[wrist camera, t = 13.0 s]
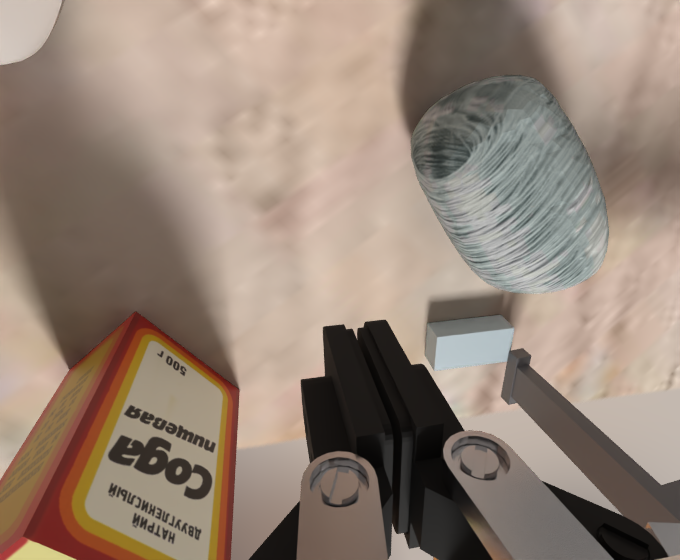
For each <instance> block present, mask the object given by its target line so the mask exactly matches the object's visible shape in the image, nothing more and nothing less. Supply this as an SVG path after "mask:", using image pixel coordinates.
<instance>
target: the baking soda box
mask: <svg viewBox="0 0 680 560" xmlns="http://www.w3.org/2000/svg"><path fill="white" fill-rule="evenodd" d="M238 408H239V389H238V388H236V387H235V386H234V385H232V384H231V383H230V382H228V381H227V380H226V379H224V378H223V377H222V376H221V375H219V374H218V373H217V372H215V371H214V370H213V369H211V368H210V367H209V366H207V365H206V364H205V363H203V362H202V361H201V360H199V359H198V358H197V357H195V356H194V355H193V354H192V353H190V352H189V351H188V350H186V349H185V348H184V347H182V346H181V345H180V344H178V343H177V342H176V341H174V340H173V339H172V338H170V337H169V336H168V335H166V334H165V333H164V332H163V331H161V330H160V329H159V328H157V327H156V326H155V325H153V324H152V323H151V322H149V321H148V320H147V319H145V318H144V317H143V316H141V315H140V314H139V313H137V312H135V313H134V314H132V315H131V316H130V317H129V318H128V319H127V320H126V321H124V322H123V323H122V324H121V325H120V326H119V327H118V328H117V329H115V330H114V331H113V332H112V333H111V334H110V335H109V336H107V337H106V338H105V339H104V340H103V341H102V342H101V343H100V344H98V345H97V346H96V347H95V348H94V349H93V350H92V351H90V352H89V353H88V354H87V355H86V356H85V357H84V358H83V359H81V360H80V361H79V362H78V363H77V364H76V365H75V366H73V367H72V368H71V369H70V370H69V372H68V373H67V375H66V376H65V378H64V379H63V381H62V383H61V384H60V386H59V387H58V389H57V391H56V392H55V394H54V395H53V397H52V399H51V400H50V402H49V403H48V405H47V407H46V408H45V410H44V411H43V413H42V415H41V416H40V418H39V419H38V421H37V422H36V424H35V426H34V427H33V429H32V430H31V432H30V434H29V435H28V437H27V438H26V440H25V442H24V443H23V445H22V446H21V448H20V450H19V451H18V453H17V454H16V456H15V457H14V459H13V461H12V462H11V464H10V465H9V467H8V469H7V470H6V472H5V473H4V475H3V477H2V478H1V480H0V560H230V559H231V541H232V521H233V503H234V483H235V465H236V446H237V427H238Z"/></svg>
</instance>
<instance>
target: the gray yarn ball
mask: <svg viewBox="0 0 680 560" xmlns="http://www.w3.org/2000/svg"><path fill="white" fill-rule="evenodd" d="M411 158H412V161H413V164H414V168H415V172H416V175H417V178H418V181H419V183H420V186H421V188H422V189H423V191H424V193H425V195H426V197H427V199H428V201H429V203H430V205H431V207H432V209H433V211H434V213H435V215H436V216H437V218H438V220H439V221H440V223H441V225H442V227H443V229H444V230H445V232H446V234H447V235H448V237H449V239H450V240H451V242H452V243H453V245H454V246H455V248H456V249H457V251H458V252H459V254H460V255H461V257H462V258H463V259H464V261H465V262H466V263H467V264H468V265H469V266H470V268H471V270H472V271H473V272H474V273H475V274H477V275H478V276H479V277H480V278H481V279H482V280H484V281H485V282H486V283H488V284H490V285H492V286H493V287H495V288H498V289H501V290H505V291H509V292H513V293H529V294H542V293H549V292H555V291H560V290H565V289H567V288H570V287H573V286H575V285H577V284H579V283H581V282H583V281H585V280H587V279H588V278H590V277H591V276H592V275H594V274H595V273H596V272H597V271H598V270H599V269H600V267H601V265H602V263H603V260H604V257H605V254H606V252H607V246H608V236H609V227H608V217H607V211H606V204H605V198H604V195H603V193H602V190H601V187H600V184H599V181H598V178H597V175H596V172H595V170H594V167H593V165H592V162H591V160H590V158H589V156H588V153H587V151H586V149H585V147H584V145H583V144H582V142H581V140H580V138H579V136H578V134H577V132H576V130H575V129H574V127H573V125H572V124H571V122H570V120H569V119H568V117H567V116H566V115H565V113H564V112H563V110H562V109H561V107H560V106H559V104H558V102H557V100H556V99H555V98H554V96H553V95H552V94H551V93H550V92H549V91H548V90H547V89H546V88H545V87H544V86H543V85H542V84H541V83H540V82H539V81H537V80H536V79H534V78H531V77H526V76H521V75H504V76H495V77H491V78H487V79H484V80H480V81H476V82H473V83H470V84H467V85H465V86H463V87H462V88H460V89H458V90H456V91H454V92H452V93H451V94H449V95H447V96H445V97H443V98H441V99H440V100H439V101H437V102H436V103H435V104H434V105H433V106H431V107H430V108H429V109H428V110H427V112H426V113H425V114H424V116H423V117H422V118H421V120H420V121H419V123H418V124H417V126H416V128H415V130H414V132H413V134H412V138H411Z"/></svg>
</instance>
